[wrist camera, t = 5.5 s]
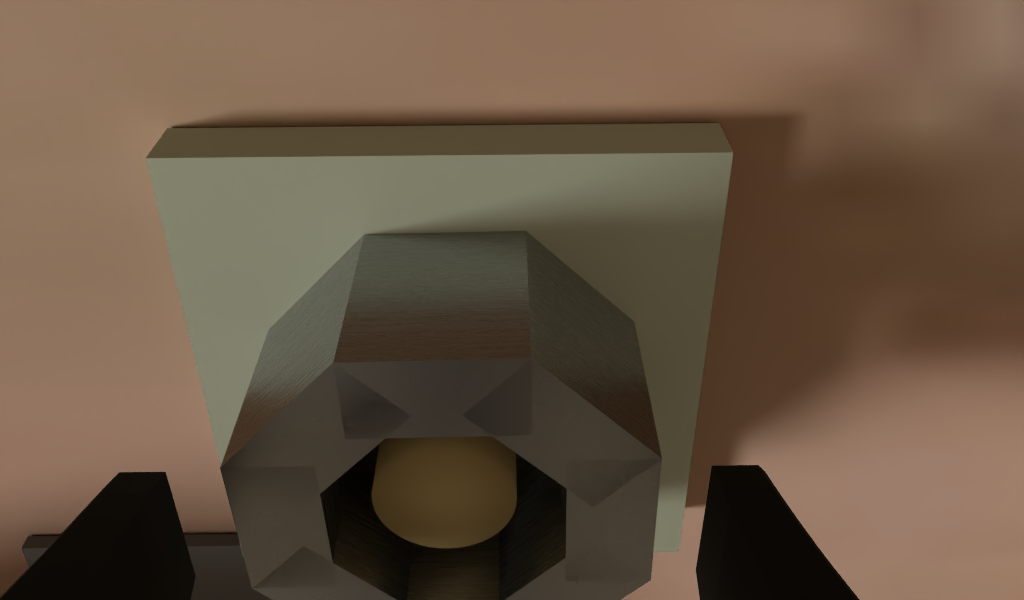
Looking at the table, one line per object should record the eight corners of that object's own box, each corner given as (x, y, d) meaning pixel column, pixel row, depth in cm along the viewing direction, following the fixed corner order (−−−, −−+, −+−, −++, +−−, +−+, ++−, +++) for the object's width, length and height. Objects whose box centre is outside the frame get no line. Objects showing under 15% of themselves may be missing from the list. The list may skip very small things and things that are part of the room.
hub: (670, 510, 18) (702, 672, 15) (254, 515, 18) (207, 677, 15) (719, 123, 14) (777, 245, 11) (167, 128, 14) (77, 253, 11)
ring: (621, 504, 17) (644, 652, 14) (305, 511, 17) (271, 660, 14) (640, 228, 14) (671, 355, 11) (249, 236, 14) (193, 365, 11)
